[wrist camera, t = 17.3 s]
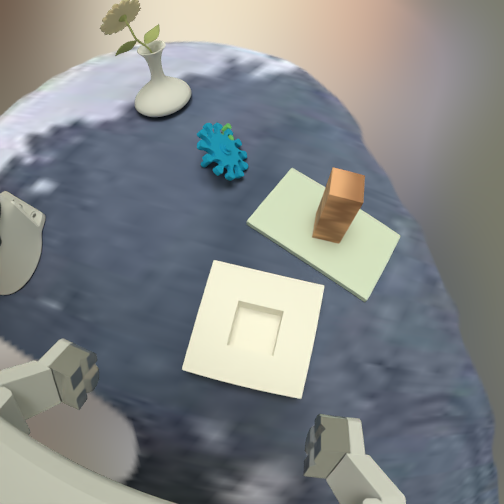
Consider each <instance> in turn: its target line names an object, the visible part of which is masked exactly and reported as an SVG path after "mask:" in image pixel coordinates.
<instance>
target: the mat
mask: <svg viewBox="0 0 504 504" xmlns="http://www.w3.org/2000/svg"><path fill="white" fill-rule="evenodd" d="M324 191H325V187H324V186H322V185H320V184H319V183H317V182H315V181H314V180H312V179H310V178H308V177H307V176H305V175H303V174H302V173H300V172H298V171H296V170H295V169H293V168H291V169H290V171H289V172H288V173H287V174H286V175H285V176H284V178H283V179H282V180H281V181H280V182H279V183H278V185H277V186H276V187H275V188H274V189H273V191H272V192H271V193H270V194H269V195H268V196H267V198H266V199H265V200H264V201H263V202H262V204H261V205H260V206H259V207H258V208H257V210H256V211H255V212H254V213H253V214H252V216H251V217H250V218H249V219H248V220H247V225H248V226H250V227H251V228H253V229H254V230H256V231H258V232H259V233H261V234H262V235H264V236H265V237H267V238H268V239H270V240H271V241H273V242H275V243H276V244H278V245H279V246H281V247H282V248H284V249H285V250H287V251H288V252H290V253H291V254H293V255H294V256H296V257H298V258H299V259H301V260H302V261H304V262H305V263H307V264H308V265H310V266H311V267H313V268H314V269H316V270H317V271H319V272H320V273H322V274H323V275H325V276H326V277H328V278H329V279H331V280H332V281H334V282H335V283H337V284H338V285H340V286H341V287H343V288H344V289H346V290H347V291H349V292H350V293H352V294H353V295H355V296H356V297H358V298H359V299H361V300H362V301H364V302H365V301H367V299H368V298H369V296H370V294H371V292H372V290H373V289H374V287H375V285H376V283H377V281H378V279H379V277H380V276H381V274H382V272H383V270H384V268H385V266H386V264H387V262H388V260H389V258H390V256H391V254H392V252H393V250H394V248H395V246H396V244H397V242H398V240H399V238H400V235H398V234H397V233H396V232H394V231H393V230H391V229H390V228H388V227H387V226H385V225H384V224H382V223H381V222H379V221H378V220H376V219H375V218H373V217H372V216H370V215H368V214H367V213H365V212H364V211H362V210H361V209H359V211H358V213H357V214H356V216H355V218H354V220H353V221H352V223H351V225H350V226H349V228H348V230H347V231H346V233H345V235H344V237H343V238H342V240H341V242H340V243H339V244H338V243H334V242H329V241H325V240H321V239H317V238H312V234H313V229H314V223H315V217H316V212H317V210H318V207H319V204H320V201H321V199H322V196H323V193H324Z"/></svg>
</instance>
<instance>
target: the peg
mask: <svg viewBox="0 0 504 504" xmlns="http://www.w3.org/2000/svg"><path fill="white" fill-rule="evenodd" d="M364 180H365V176H364V175H360V174H357V173H353V172H349V171H345V170H341V169H337V168H332V171H331V174H330V177H329V179H328V182H327V185H326V188H325V191H324V193H323V196H322V199H321V201H320V204H319V207H318V210H317V212H316V217H315V223H314V229H313V234H312V238H317V239H321V240H325V241H329V242H334V243H338V244H339V243H340V242H341V240H342V238H343V237H344V235H345V233H346V231H347V230H348V228H349V226H350V225H351V223H352V221H353V220H354V218H355V216H356V214H357V213H358V211H359V209H360V208H361V206H362V204H363V197H364Z"/></svg>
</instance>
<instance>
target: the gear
mask: <svg viewBox="0 0 504 504" xmlns="http://www.w3.org/2000/svg"><path fill="white" fill-rule="evenodd" d="M203 128H204V129H202V130H200V131H199V132H198V133H197V136H198V137H199V138H201V139H202V140H200V141H199V142H198V143H197V148H198V149H199V150H204V151H206V152H208V153H209V154H206V155H204V156H203V157H202V158H203V162H201V166H202V167H204V168H205V167H206V166H208V165H209V164H211V163H212V162H216V163H218V165H217V166H216V167H215V168H213V172H214V173H215V174H216V175H217V176H219V175H220V174H222V173H223V168H224V167H225V168H226V169H227V171H228V172H227V173H226V174H225V178H226V179H227V180H230V181H231V180H233V179H234V178H235V177H236V178H241V177H243V176H244V173H243V171H244V170H246V169H247V168H248V164H247V163H245V162H244V161H243V160H244V159H246V158H247V153H246V152H245V151H241V150H239V149H238V147H240V146H241V145H242V143H241V141H240V139H236V140H234V138H233V136H232V135H233V132H232V131H231V130H230V129H231V125H230V124H226V125H225V126H223V127H222V125H221V124H219V123H216V124H214V125H213V126H212V124H211V123H206V124H205V125H204V126H203ZM213 128H214V133H213V131H212V129H213ZM221 129H222V131H223V132H221V133H220V130H221ZM207 134H208V136H207ZM233 168H234V170H235V173H234V172H233Z"/></svg>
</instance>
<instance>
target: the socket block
mask: <svg viewBox="0 0 504 504" xmlns="http://www.w3.org/2000/svg"><path fill="white" fill-rule="evenodd" d="M323 291H324V285H319V284H315V283H310V282H306V281H302V280H297V279H293V278H288V277H284V276H280V275H275V274H271V273H267V272H263V271H258V270H254V269H250V268H245V267H241V266H237V265H233V264H228V263H224V262H220V261H216V260H214V262H213V265H212V268H211V271H210V275H209V278H208V281H207V284H206V288H205V291H204V294H203V298H202V301H201V305H200V308H199V311H198V315H197V318H196V322H195V325H194V328H193V332H192V335H191V339H190V342H189V346H188V349H187V353H186V357H185V360H184V364H183V367H182V370H184V371H188V372H191V373H195V374H198V375H202V376H205V377H209V378H212V379H216V380H220V381H224V382H227V383H231V384H235V385H239V386H243V387H248V388H252V389H256V390H261V391H265V392H270V393H274V394H279V395H284V396H289V397H294V398H300V399H301V397H302V393H303V389H304V385H305V380H306V376H307V371H308V367H309V362H310V358H311V353H312V348H313V343H314V338H315V333H316V328H317V323H318V318H319V313H320V307H321V302H322V296H323Z"/></svg>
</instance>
